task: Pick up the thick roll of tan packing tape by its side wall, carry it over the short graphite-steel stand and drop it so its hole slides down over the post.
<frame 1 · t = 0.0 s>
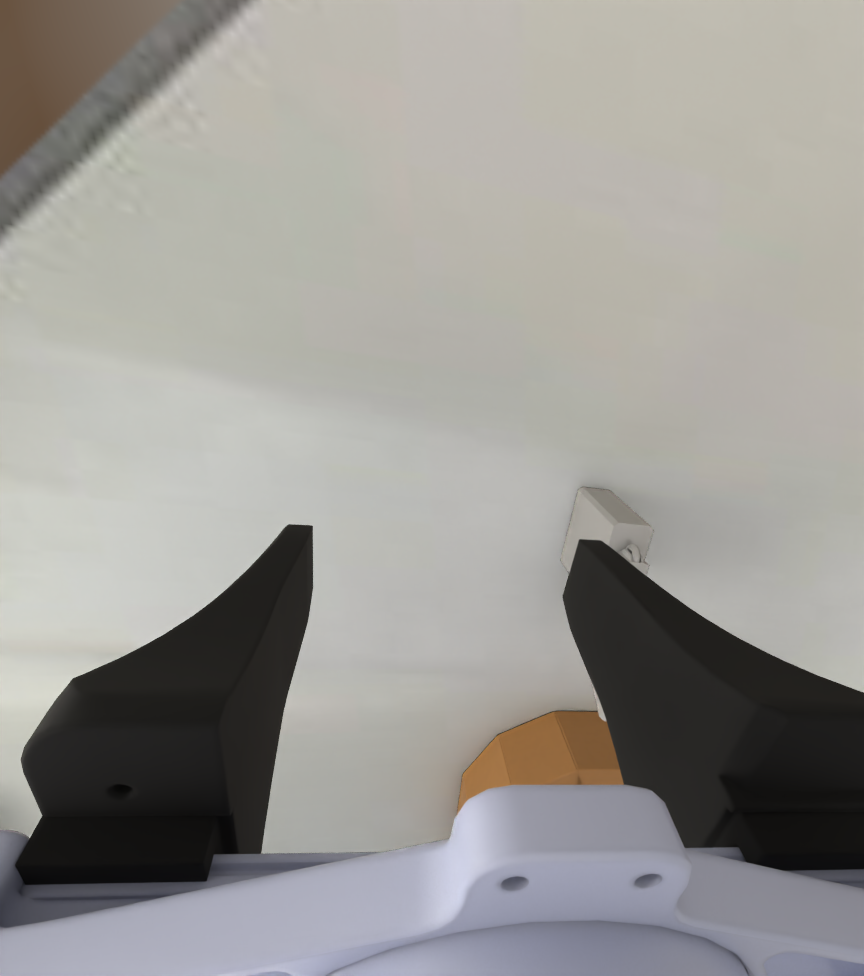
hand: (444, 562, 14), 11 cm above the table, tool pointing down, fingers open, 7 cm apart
lighter: (577, 552, 27), on the table
tape roll: (563, 795, 32), on the table
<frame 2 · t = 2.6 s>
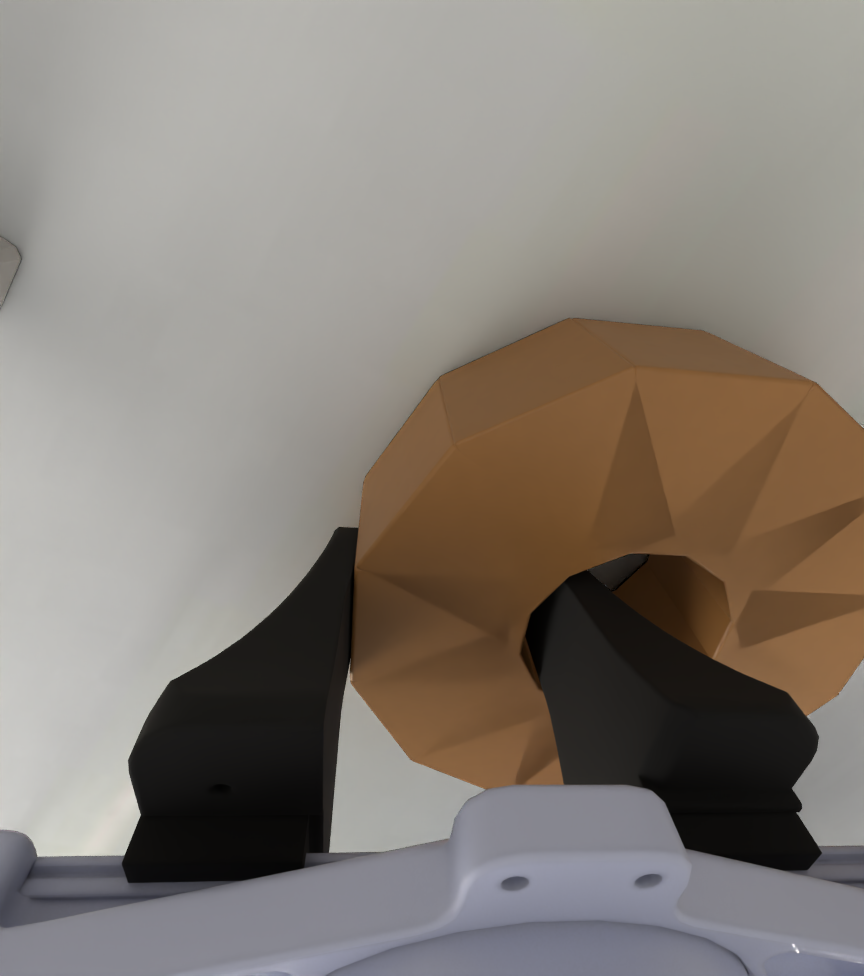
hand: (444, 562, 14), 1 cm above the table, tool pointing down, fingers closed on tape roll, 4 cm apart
tape roll: (576, 540, 16), on the table, touching gripper
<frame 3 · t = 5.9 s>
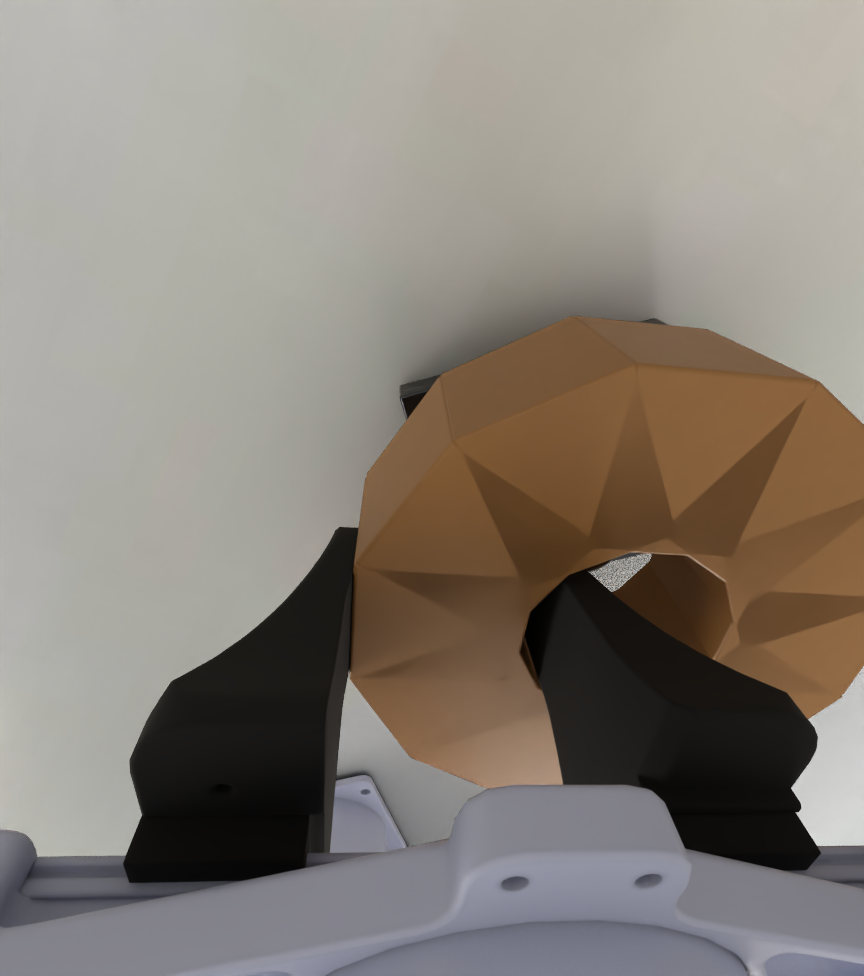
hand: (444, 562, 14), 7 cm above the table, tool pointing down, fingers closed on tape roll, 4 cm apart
tape roll: (577, 539, 16), point 5 cm above the table, touching gripper
stand: (543, 464, 20), on the table
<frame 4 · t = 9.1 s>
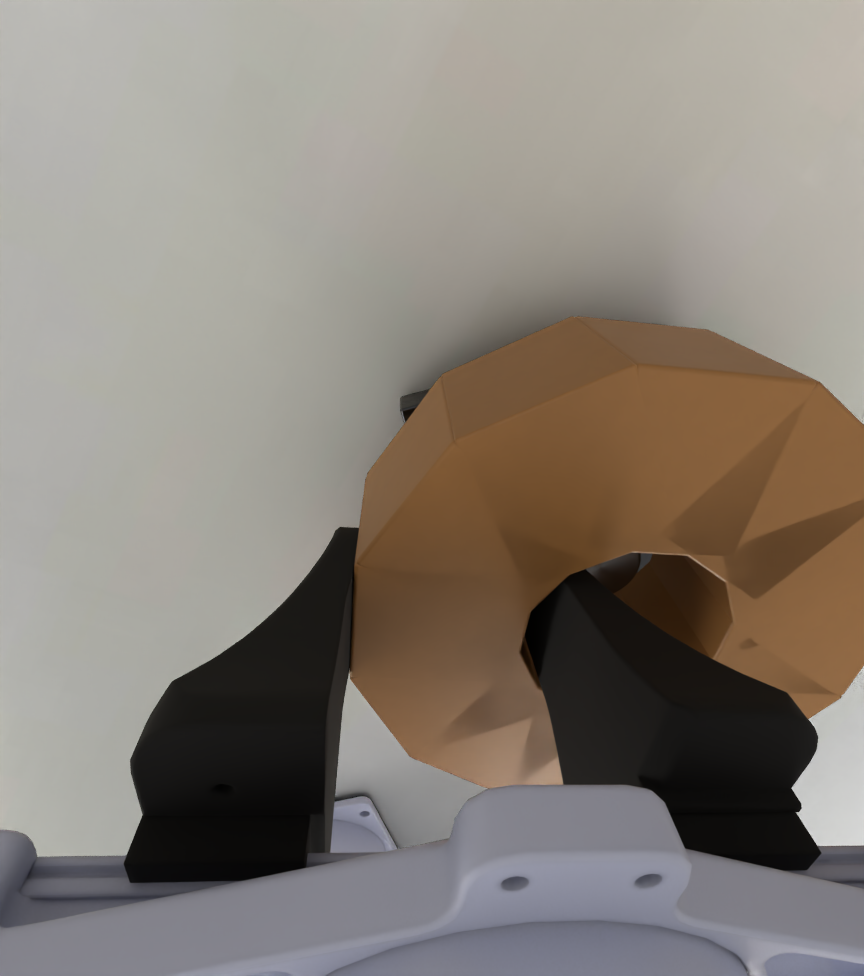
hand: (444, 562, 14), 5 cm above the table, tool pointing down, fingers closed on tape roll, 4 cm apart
tape roll: (578, 539, 16), point 4 cm above the table, touching gripper
stand: (551, 478, 19), on the table
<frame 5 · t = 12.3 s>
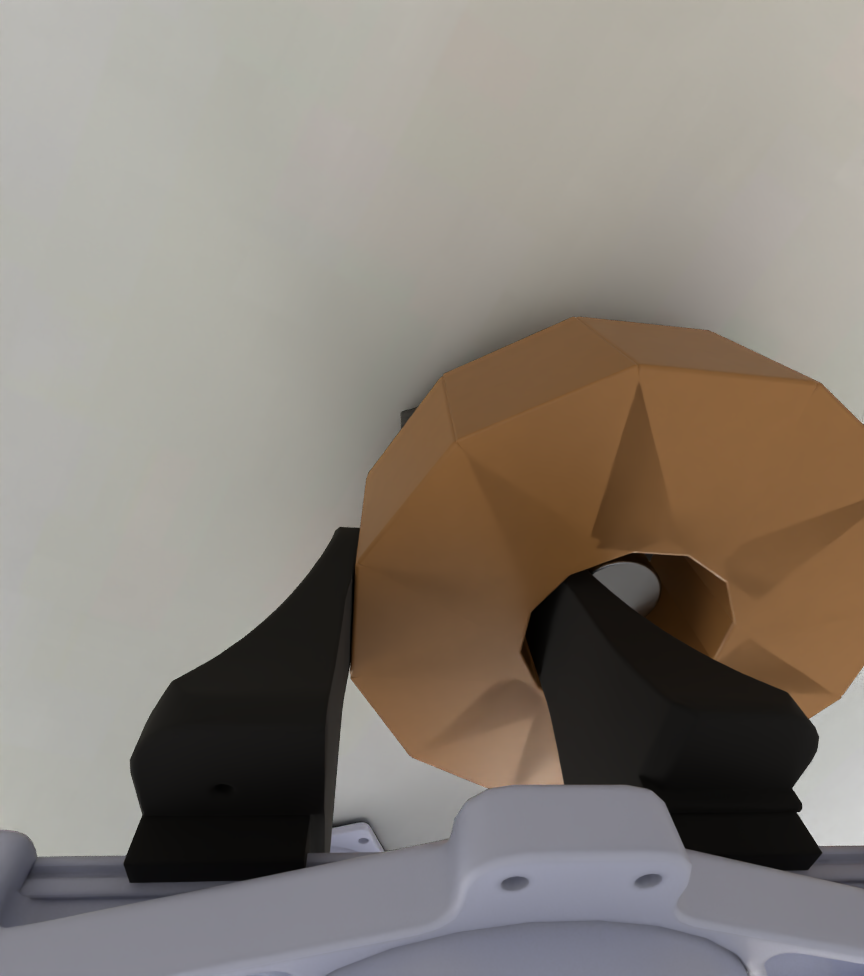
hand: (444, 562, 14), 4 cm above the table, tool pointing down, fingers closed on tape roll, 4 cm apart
tape roll: (578, 540, 16), point 3 cm above the table, touching gripper
stand: (561, 497, 18), on the table
when the fingers open (6 cm above the table, at t = 15.6 s): tape roll drops 3 cm, resting on stand.
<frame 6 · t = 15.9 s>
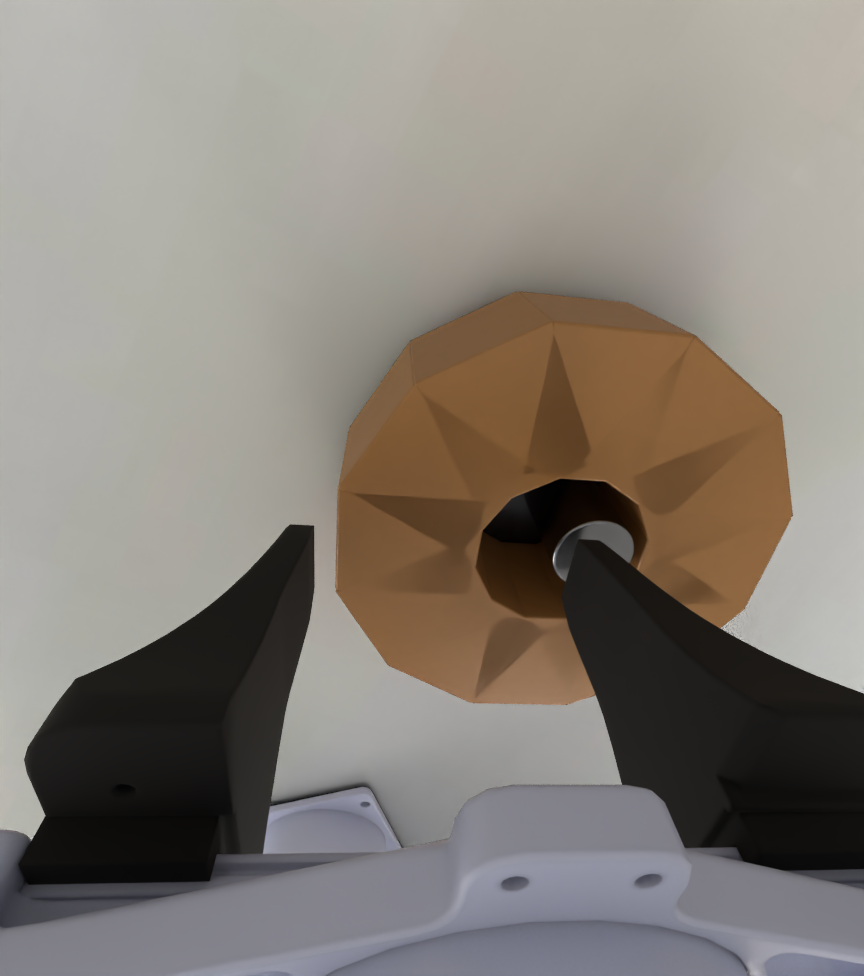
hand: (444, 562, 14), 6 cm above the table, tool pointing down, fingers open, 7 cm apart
tape roll: (530, 486, 19), point 1 cm above the table, touching stand
stand: (548, 472, 20), on the table
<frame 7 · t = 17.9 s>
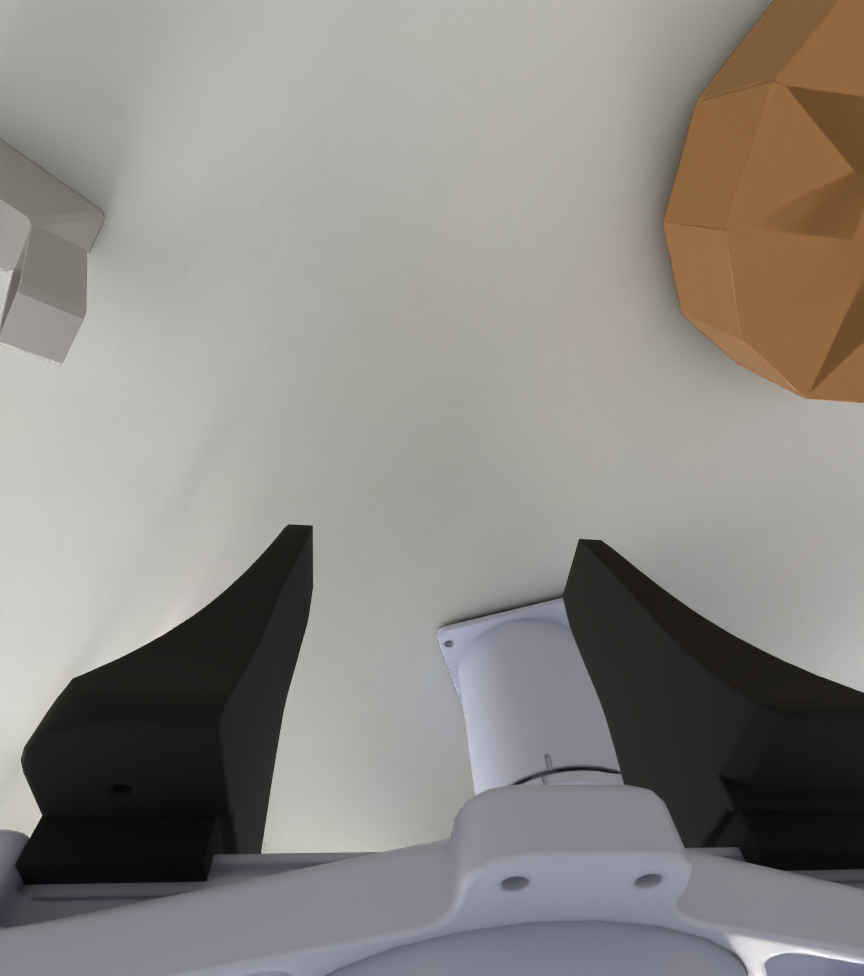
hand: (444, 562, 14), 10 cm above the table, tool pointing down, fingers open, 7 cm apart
lighter: (82, 223, 19), on the table
tape roll: (853, 185, 18), point 1 cm above the table, touching stand
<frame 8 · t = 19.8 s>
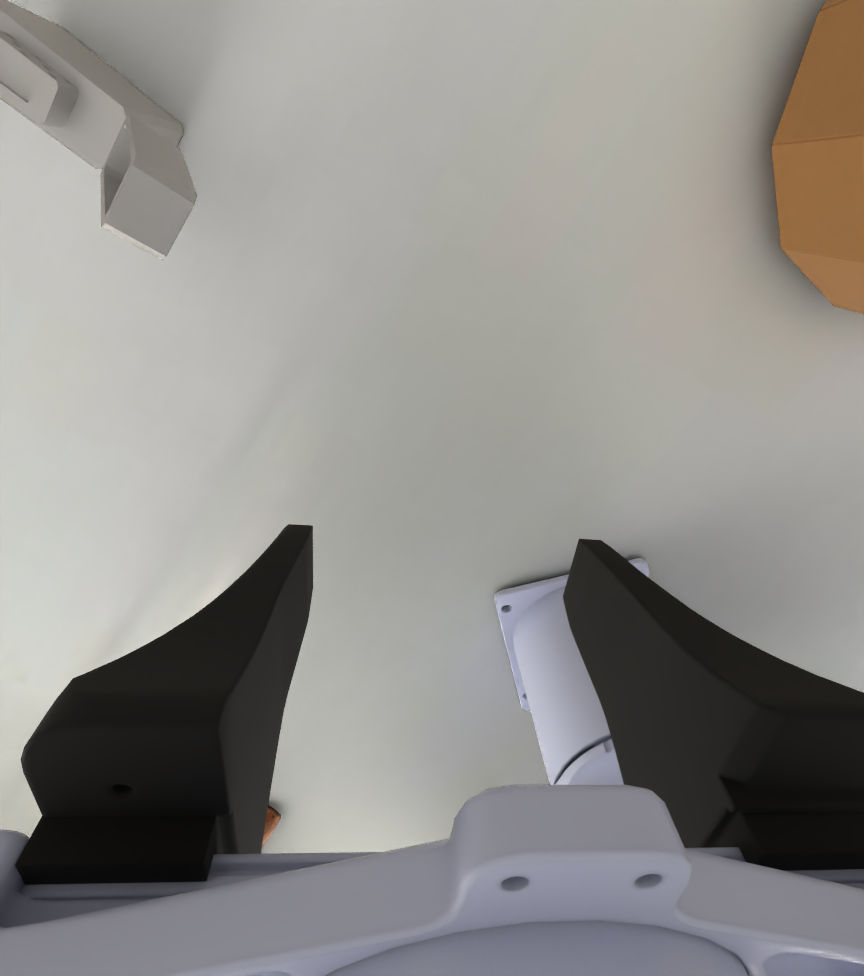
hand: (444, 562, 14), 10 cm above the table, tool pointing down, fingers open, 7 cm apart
sunglasses case: (190, 855, 39), on the table
lighter: (159, 139, 18), on the table
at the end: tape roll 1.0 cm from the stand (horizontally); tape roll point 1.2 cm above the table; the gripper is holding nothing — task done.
